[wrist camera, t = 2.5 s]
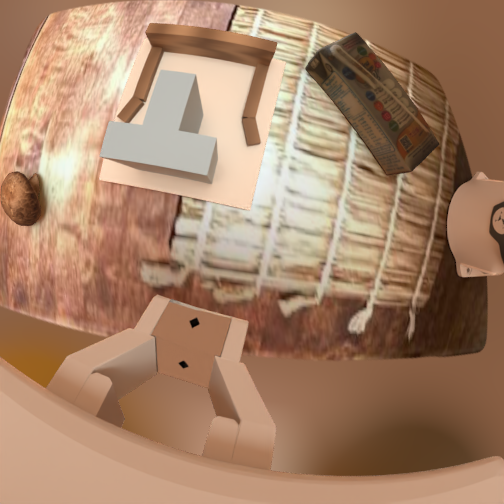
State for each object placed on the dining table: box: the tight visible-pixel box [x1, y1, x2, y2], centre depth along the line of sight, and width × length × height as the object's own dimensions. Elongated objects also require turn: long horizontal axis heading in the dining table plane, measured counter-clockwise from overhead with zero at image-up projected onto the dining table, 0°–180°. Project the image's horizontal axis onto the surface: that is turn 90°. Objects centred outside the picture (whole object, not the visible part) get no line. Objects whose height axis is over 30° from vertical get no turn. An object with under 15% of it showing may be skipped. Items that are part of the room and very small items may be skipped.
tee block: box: [100, 70, 218, 184], centre depth 26 cm, size 9×8×12 cm
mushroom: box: [0, 172, 41, 226], centre depth 29 cm, size 8×8×6 cm
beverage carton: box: [306, 33, 439, 175], centre depth 31 cm, size 8×19×6 cm, turn 39°
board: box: [99, 38, 286, 210], centre depth 31 cm, size 19×20×1 cm
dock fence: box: [117, 23, 277, 146], centre depth 28 cm, size 18×12×5 cm
